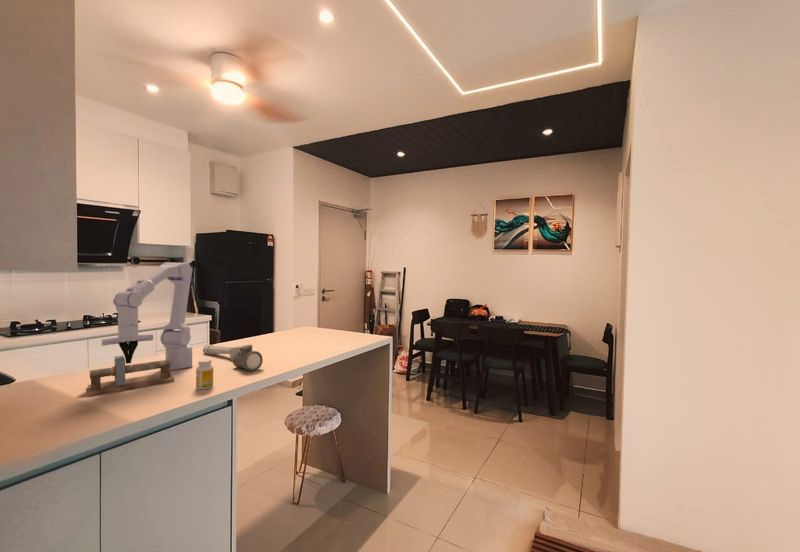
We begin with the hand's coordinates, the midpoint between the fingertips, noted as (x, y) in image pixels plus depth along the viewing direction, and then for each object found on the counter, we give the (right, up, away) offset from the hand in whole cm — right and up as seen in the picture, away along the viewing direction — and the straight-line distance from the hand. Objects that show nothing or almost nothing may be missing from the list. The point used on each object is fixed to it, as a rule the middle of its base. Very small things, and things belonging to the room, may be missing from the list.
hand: (128, 362), depth 127 cm
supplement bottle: (+28, -9, -1) cm, 29 cm away
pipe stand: (+1, -8, +1) cm, 8 cm away
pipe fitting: (+32, -8, +23) cm, 40 cm away
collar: (-2, -7, -1) cm, 7 cm away
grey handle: (+13, -8, +41) cm, 44 cm away
